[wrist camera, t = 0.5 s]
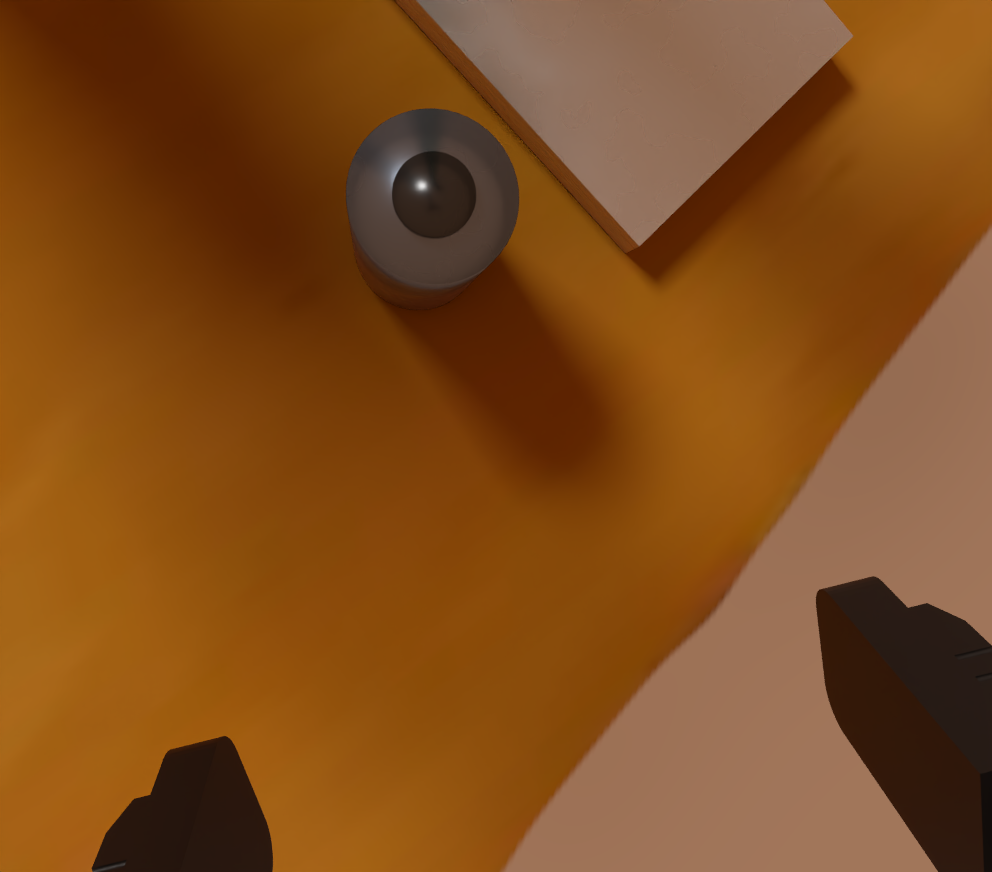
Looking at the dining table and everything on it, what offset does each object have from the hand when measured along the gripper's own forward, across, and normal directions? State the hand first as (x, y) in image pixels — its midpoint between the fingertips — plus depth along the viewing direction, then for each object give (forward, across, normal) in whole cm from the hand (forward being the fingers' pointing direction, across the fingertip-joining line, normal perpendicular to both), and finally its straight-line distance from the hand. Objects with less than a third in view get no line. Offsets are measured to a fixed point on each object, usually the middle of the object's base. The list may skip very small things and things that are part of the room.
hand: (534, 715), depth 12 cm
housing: (+27, +1, -2) cm, 27 cm away
